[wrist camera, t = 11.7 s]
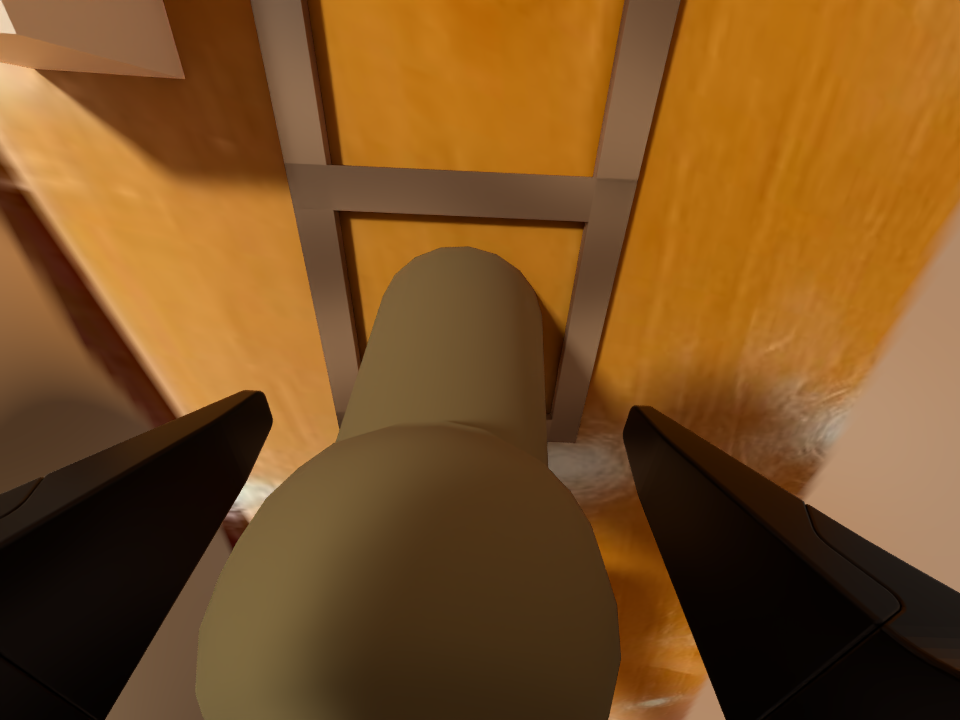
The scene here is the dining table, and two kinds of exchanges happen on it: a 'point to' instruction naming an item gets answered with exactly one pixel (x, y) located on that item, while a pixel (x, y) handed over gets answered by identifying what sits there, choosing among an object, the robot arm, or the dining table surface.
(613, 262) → the three-pane window frame
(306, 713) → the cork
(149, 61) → the die
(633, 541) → the dining table surface
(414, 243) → the dining table surface
